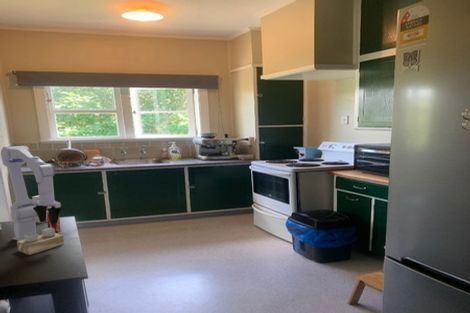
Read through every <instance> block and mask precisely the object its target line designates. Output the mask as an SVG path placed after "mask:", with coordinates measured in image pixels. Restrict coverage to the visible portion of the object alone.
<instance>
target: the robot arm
mask: <svg viewBox="0 0 470 313" xmlns="http://www.w3.org/2000/svg"><path fill="white" fill-rule="evenodd" d="M29 148H30V147H28V146H27V145H18V146H16V145H15V146H3V147H1V150H0V158H1V161H2V164H3V166H5V167H7V170H8V175H9V178H10V183H11V187H12V190H13V195H14V198H15V201H14V202H13V203H12V204H11V206H10V208H9V209H10V216H11V219H12V221H13V222H14V224H13V230H14V237H13V238H12V240H15V241H17V242H18V241H21V240H25V236H24V234H28V233H31V232H36V233H37V228H36V227H37V226H36V222H35V219H36V217H37V216H38V217H39V220H40V222H43V223H45V222H44V221H46V211H47V210H48V212H49V214H50V218H51V223H52V224H55V223H57V222H58V217H59V218H60V213H61V211H62V209H63V206H62V205H61V202H60V201H59V202H58V201H57V200H55V189H54V176H55V174H56V169H55V168H56V167H55V166H54V164H53V163H47V162H45V161H44V160H42V159H41V158H40V157H39V156H33V155H32V154H31V153H30V149H29ZM25 163H26V166H27V168H29V169H30V170H32V172H33V175H34V177H35V181H36V183H37V189H38V190H37V191H38V192H37V193H38V195H39V200H38V201H34V200H32V198H29V195H28V190H27V187H26V182H25V180H24V175H23V172H22V165H24V164H25ZM47 207H52V208H48V209H47ZM46 222H47V221H46ZM39 235H40V234H38V236H39Z"/></svg>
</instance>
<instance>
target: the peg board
mask: <svg viewBox="0 0 470 313" xmlns="http://www.w3.org/2000/svg"><path fill="white" fill-rule="evenodd" d="M38 235H39V236H38V241H35V242H32V243H26V242H25V240H21V241H18V240H17V241H16V244H17V246H16V247H17V251H18V252H20V253H23V254H26V255H28V256H32V255H34V254H37V253H40V252H43V251H47V250H49V249H53V248H55V247H59V246H61V245H64V244H65V242H64V234H61V233H59V234H57V233H55V236H52V237H48V238H45V237H43V236H42V234H38Z"/></svg>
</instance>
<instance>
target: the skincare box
mask: <svg viewBox="0 0 470 313" xmlns="http://www.w3.org/2000/svg"><path fill="white" fill-rule="evenodd" d="M31 200H34V201H38V200H39V194H38V195H35V196H31ZM48 208H52V207H47V209H48ZM46 222H47V211H46V221H44V222H40V220H39V217H38V216H37V217H36V219H35V223H38V224H42V223H46Z"/></svg>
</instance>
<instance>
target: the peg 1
mask: <svg viewBox="0 0 470 313" xmlns="http://www.w3.org/2000/svg"><path fill="white" fill-rule="evenodd" d="M38 235H39V233H38V232H37V231H36V232H31V233H28V234H24V236H25V242H26V243H32V242H35V241H38Z"/></svg>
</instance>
